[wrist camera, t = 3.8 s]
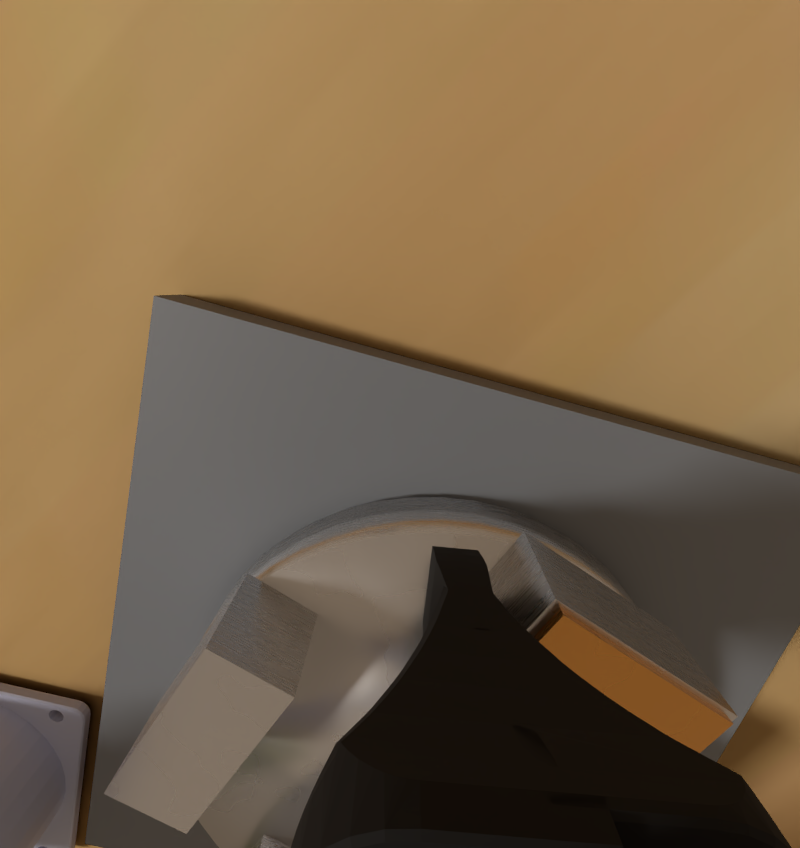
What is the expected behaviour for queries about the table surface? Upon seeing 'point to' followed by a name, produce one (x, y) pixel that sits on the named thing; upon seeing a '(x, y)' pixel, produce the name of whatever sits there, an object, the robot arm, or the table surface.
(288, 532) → the slate plate
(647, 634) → the silver lugged disc
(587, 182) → the table surface
